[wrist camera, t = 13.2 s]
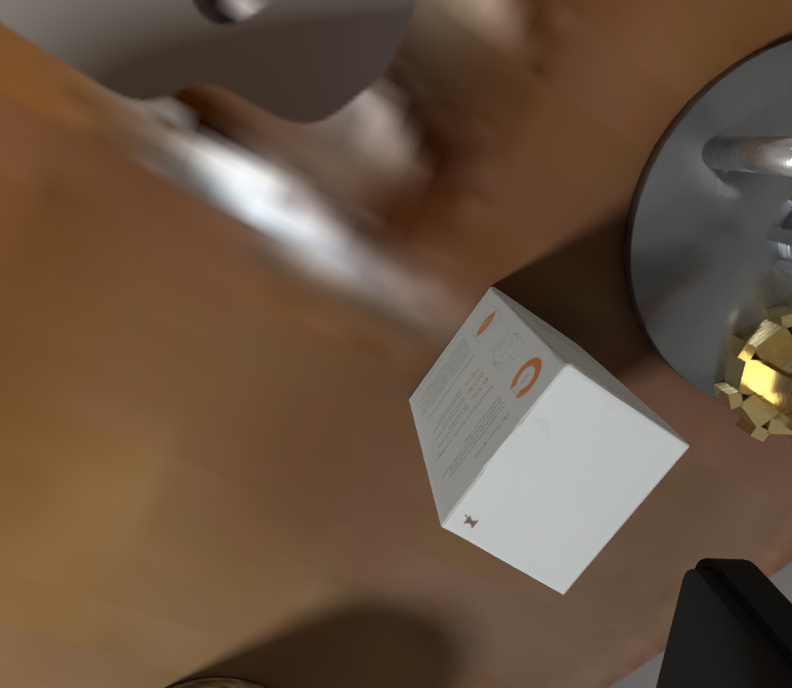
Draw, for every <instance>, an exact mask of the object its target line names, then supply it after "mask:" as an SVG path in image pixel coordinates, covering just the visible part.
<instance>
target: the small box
mask: <svg viewBox="0 0 792 688" xmlns="http://www.w3.org/2000/svg"><path fill="white" fill-rule="evenodd" d="M409 401H410V404H411V409H412V413H413V416H414V421H415V424H416V428H417V432H418V436H419V440H420V444H421V448H422V452H423V455H424V460H425V464H426V468H427V471H428V475H429V479H430V483H431V487H432V491H433V495H434V499H435V503H436V507H437V511H438V515H439V519H440V523H441V526H442V527H443V528H445V529H447V530H449V531H451V532H453V533H455V534H457V535H459V536H460V537H462V538H464V539H466V540H468V541H470V542H471V543H473V544H475V545H477V546H478V547H480V548H482V549H484V550H485V551H487V552H489V553H491V554H492V555H494V556H496V557H498V558H499V559H501V560H503V561H505V562H506V563H508V564H510V565H512V566H514V567H515V568H517V569H519V570H521V571H523V572H524V573H526V574H528V575H530V576H531V577H533V578H535V579H537V580H538V581H540V582H542V583H544V584H545V585H547V586H549V587H551V588H553V589H554V590H556V591H558V592H560V593H561V594H565V593H566V592H567V591H568V590H569V589H570V587H571V586H572V585H573V584H574V583H575V581H576V580H577V579H578V578H579V577H580V575H581V574H582V573H583V572H584V571H585V570H586V568H587V567H588V566H589V565H590V564H591V562H592V561H593V560H594V559H595V558H596V557H597V555H598V554H599V553H600V552H601V551H602V550H603V548H604V547H605V546H606V545H607V544H608V542H609V541H610V540H611V539H612V538H613V536H614V535H615V534H616V533H617V532H618V530H619V529H620V528H621V527H622V526H623V525H624V523H625V522H626V521H627V520H628V519H629V518H630V516H631V515H632V514H633V513H634V512H635V510H636V509H637V508H638V507H639V506H640V505H641V503H642V502H643V501H644V500H645V499H646V497H647V496H648V495H649V494H650V493H651V492H652V490H653V489H654V488H655V487H656V486H657V484H658V483H659V482H660V481H661V480H662V479H663V477H664V476H665V475H666V474H667V473H668V472H669V470H670V469H671V468H672V467H673V466H674V465H675V463H676V462H677V461H678V460H679V459H680V457H681V456H682V455H683V454H684V453H685V452H686V451H687V449H688V448H689V445H688V443H687V442H686V441H685V440H684V439H683V438H682V437H681V436H680V435H679V434H678V433H677V432H676V431H674V430H673V429H672V428H671V427H670V426H669V425H668V424H667V423H665V422H664V421H663V420H662V419H661V418H660V417H659V416H658V415H657V414H655V413H654V412H653V411H652V410H651V409H650V408H649V407H648V406H646V405H645V404H644V403H643V402H642V401H641V400H640V399H639V398H637V397H636V396H635V395H634V394H633V393H632V392H631V391H630V390H629V389H627V388H626V387H625V386H624V385H623V384H622V383H621V382H620V381H619V380H617V379H616V378H615V377H614V376H613V375H612V374H611V373H610V372H608V371H607V370H606V369H605V368H604V367H603V366H602V365H601V364H600V363H598V362H597V361H596V360H595V359H594V358H593V357H591V356H590V355H589V354H588V353H587V352H586V351H585V350H584V349H582V348H581V347H580V346H579V345H578V344H576V343H575V342H573V341H572V340H571V339H569V338H568V337H566V336H565V335H563V334H562V333H560V332H559V331H557V330H556V329H555V328H553V327H552V326H550V325H549V324H547V323H546V322H544V321H543V320H542V319H540V318H539V317H537V316H536V315H534V314H533V313H531V312H530V311H529V310H527V309H526V308H524V307H523V306H521V305H520V304H518V303H517V302H516V301H514V300H513V299H511V298H510V297H508V296H507V295H505V294H504V293H503V292H501V291H500V290H498V289H497V288H495V287H490V288H489V290H488V291H487V292H486V294H485V295H484V296H483V298H482V299H481V301H480V302H479V303H478V305H477V306H476V307H475V309H474V310H473V311H472V313H471V314H470V316H469V317H468V318H467V320H466V321H465V322H464V324H463V325H462V327H461V328H460V329H459V331H458V332H457V333H456V335H455V336H454V338H453V339H452V340H451V342H450V343H449V345H448V346H447V347H446V349H445V350H444V351H443V353H442V354H441V356H440V357H439V358H438V360H437V361H436V362H435V364H434V365H433V367H432V368H431V369H430V371H429V372H428V374H427V375H426V376H425V378H424V379H423V381H422V382H421V383H420V385H419V386H418V388H417V389H416V391H415V392H414V393H413V395H412V396H411V398H410V399H409Z"/></svg>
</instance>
